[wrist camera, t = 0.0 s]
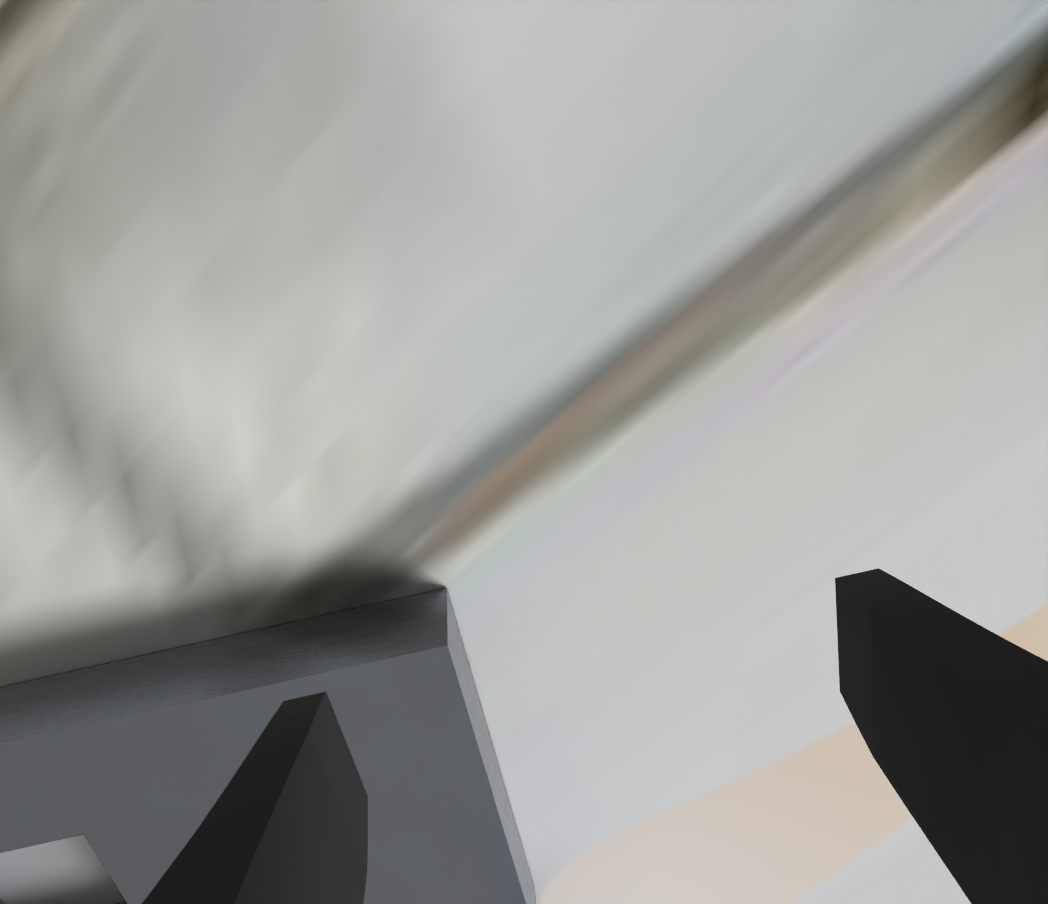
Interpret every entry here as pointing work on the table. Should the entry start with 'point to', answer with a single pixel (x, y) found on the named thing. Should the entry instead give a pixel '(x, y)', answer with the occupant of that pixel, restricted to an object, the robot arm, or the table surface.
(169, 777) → the plate
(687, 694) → the table surface
